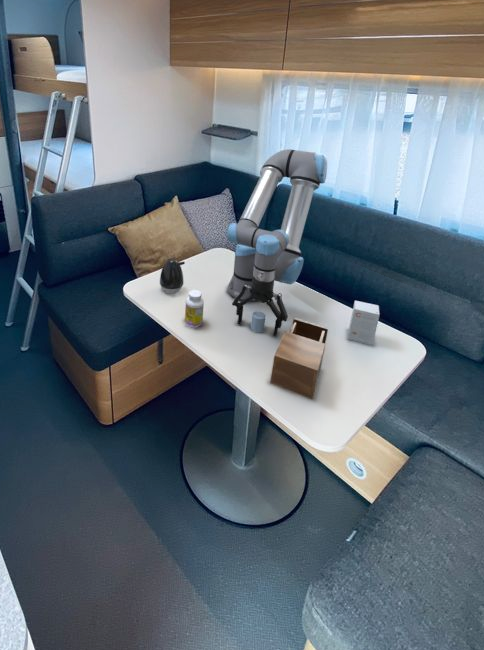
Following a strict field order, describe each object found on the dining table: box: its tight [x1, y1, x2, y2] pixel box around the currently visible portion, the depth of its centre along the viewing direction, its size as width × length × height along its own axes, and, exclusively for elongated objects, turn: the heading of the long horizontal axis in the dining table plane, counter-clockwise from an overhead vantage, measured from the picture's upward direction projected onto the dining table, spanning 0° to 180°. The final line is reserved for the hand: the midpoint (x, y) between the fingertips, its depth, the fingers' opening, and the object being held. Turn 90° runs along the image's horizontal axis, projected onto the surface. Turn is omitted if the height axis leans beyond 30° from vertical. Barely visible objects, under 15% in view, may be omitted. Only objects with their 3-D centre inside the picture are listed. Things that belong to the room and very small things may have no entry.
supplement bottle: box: [184, 289, 205, 328], centre depth 152 cm, size 7×7×13 cm
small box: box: [348, 300, 380, 346], centre depth 146 cm, size 8×6×13 cm
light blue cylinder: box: [250, 310, 267, 333], centre depth 151 cm, size 5×5×6 cm
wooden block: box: [269, 330, 326, 400], centre depth 127 cm, size 14×13×11 cm
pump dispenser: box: [159, 257, 186, 294], centre depth 173 cm, size 10×10×15 cm
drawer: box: [289, 317, 329, 345], centre depth 138 cm, size 17×11×9 cm
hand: (257, 328), depth 151 cm, fingers open, 13 cm apart
